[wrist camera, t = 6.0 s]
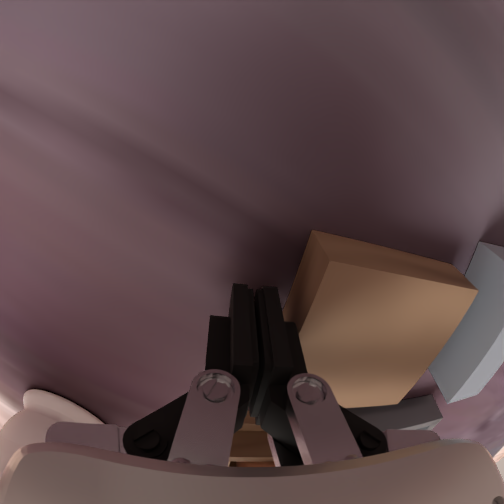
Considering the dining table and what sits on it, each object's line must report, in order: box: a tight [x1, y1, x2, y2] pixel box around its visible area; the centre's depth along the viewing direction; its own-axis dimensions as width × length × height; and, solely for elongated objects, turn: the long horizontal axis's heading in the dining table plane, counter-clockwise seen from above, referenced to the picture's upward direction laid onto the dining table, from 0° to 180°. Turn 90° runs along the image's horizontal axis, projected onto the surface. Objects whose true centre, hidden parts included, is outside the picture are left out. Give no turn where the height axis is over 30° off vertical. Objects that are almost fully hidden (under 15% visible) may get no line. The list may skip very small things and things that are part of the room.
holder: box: [228, 411, 274, 467], centre depth 17 cm, size 8×8×3 cm
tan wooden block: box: [282, 230, 479, 408], centre depth 13 cm, size 8×8×3 cm
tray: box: [345, 395, 443, 432], centre depth 19 cm, size 10×9×2 cm
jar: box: [0, 389, 104, 479], centre depth 11 cm, size 11×10×15 cm
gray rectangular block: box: [428, 241, 504, 404], centre depth 12 cm, size 8×3×4 cm, turn 172°
